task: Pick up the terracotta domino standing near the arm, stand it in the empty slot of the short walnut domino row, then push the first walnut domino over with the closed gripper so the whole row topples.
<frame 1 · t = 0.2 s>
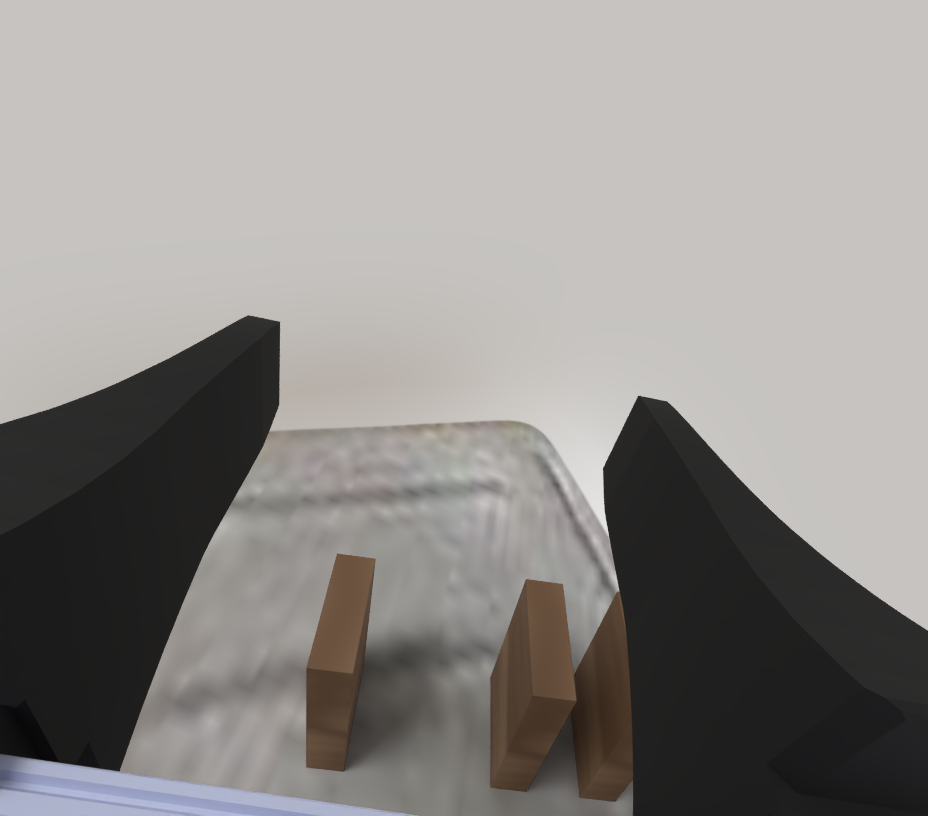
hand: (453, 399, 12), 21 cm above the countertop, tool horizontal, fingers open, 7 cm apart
domino 1: (589, 740, 28), on the countertop
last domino: (337, 710, 27), on the countertop
domino 2: (507, 730, 28), on the countertop
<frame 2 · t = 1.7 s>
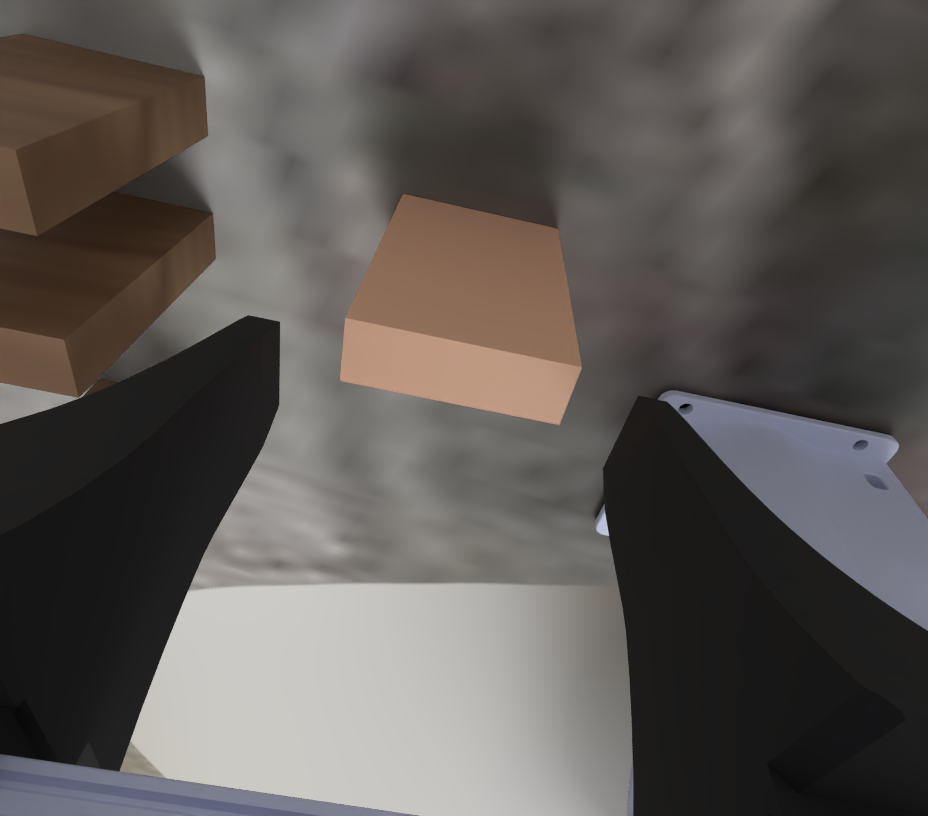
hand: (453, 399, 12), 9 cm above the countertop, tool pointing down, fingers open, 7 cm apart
domino 1: (118, 86, 17), on the countertop
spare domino: (475, 235, 19), on the countertop
domino 2: (138, 220, 19), on the countertop
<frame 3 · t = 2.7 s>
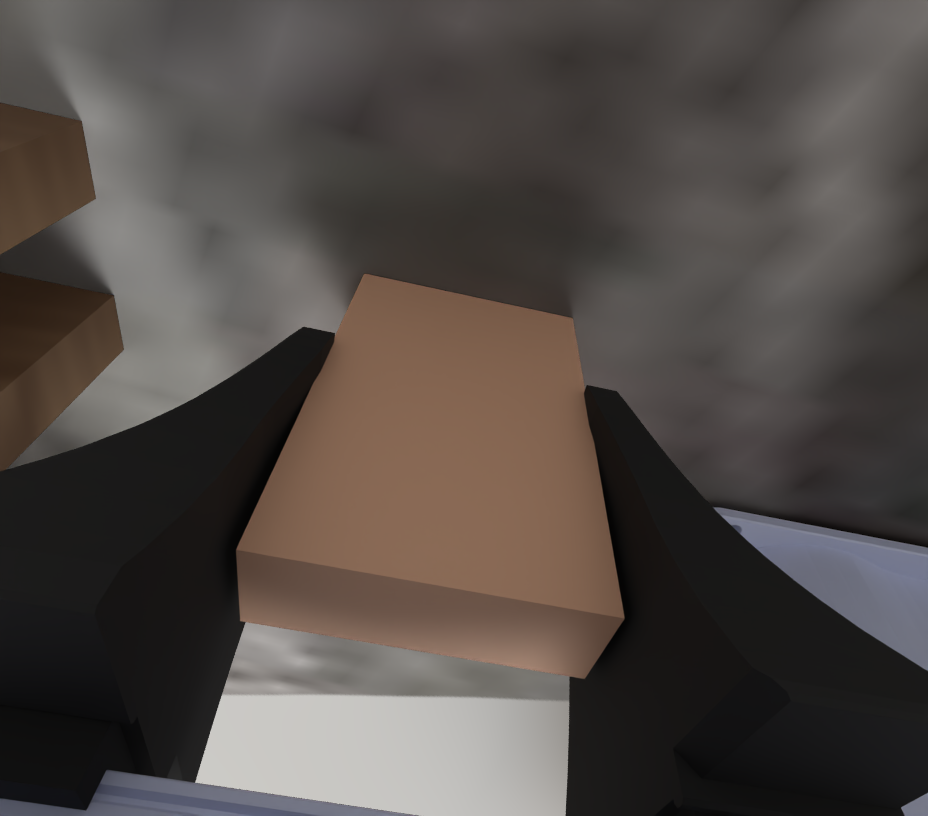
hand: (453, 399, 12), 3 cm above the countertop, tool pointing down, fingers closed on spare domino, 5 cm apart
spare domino: (463, 325, 14), on the countertop, touching gripper
domino 2: (16, 302, 15), on the countertop
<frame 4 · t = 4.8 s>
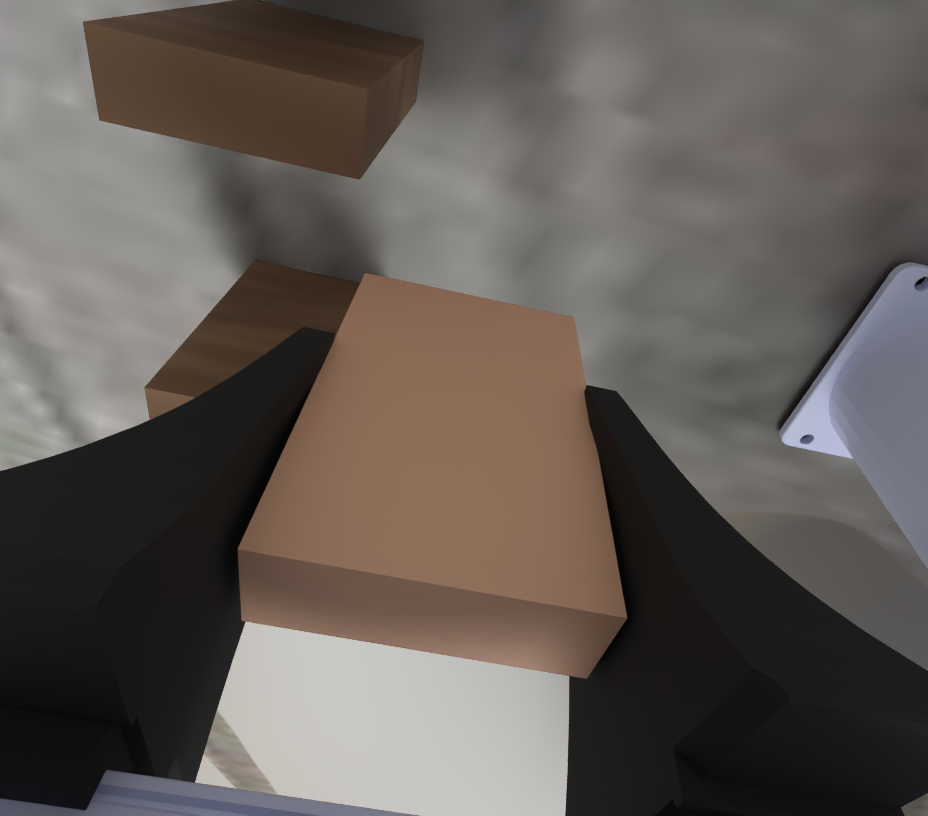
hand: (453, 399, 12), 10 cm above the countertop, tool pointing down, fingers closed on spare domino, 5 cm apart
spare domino: (464, 324, 14), point 7 cm above the countertop, touching gripper
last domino: (321, 294, 22), on the countertop
domino 2: (335, 52, 17), on the countertop
when the fingers open (4 cm above the countertop, at t = 7.1 s): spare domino drops 1 cm, on the countertop.
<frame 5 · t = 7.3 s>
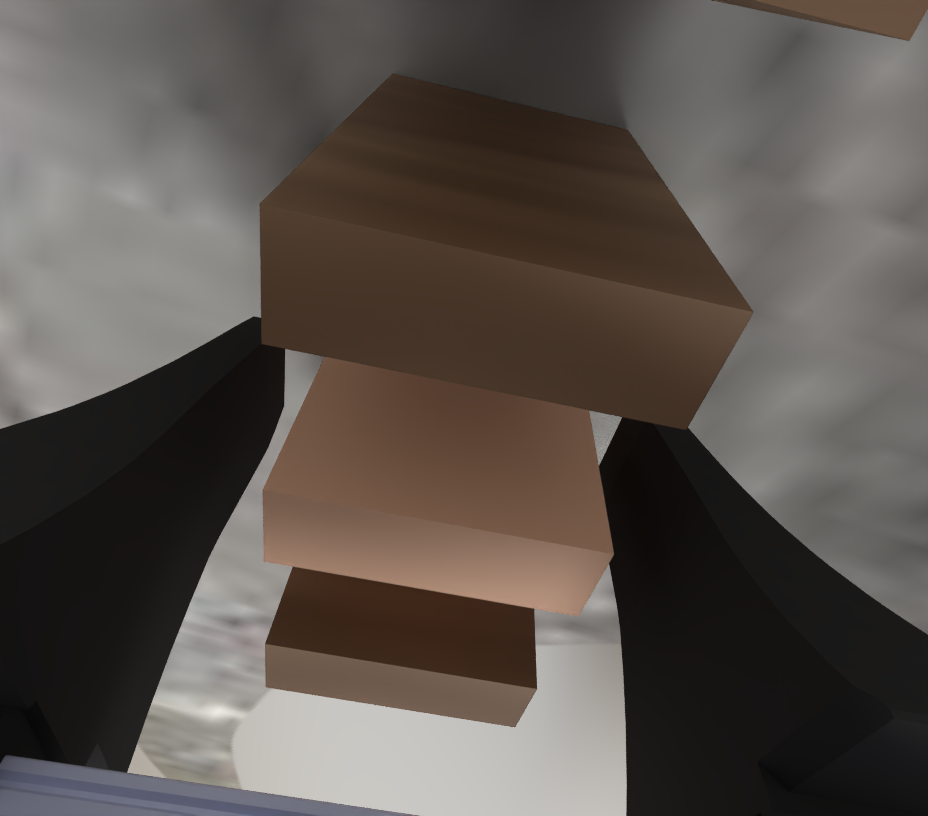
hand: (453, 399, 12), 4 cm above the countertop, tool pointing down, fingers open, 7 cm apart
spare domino: (465, 304, 15), on the countertop
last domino: (438, 423, 17), on the countertop
domino 2: (502, 142, 13), on the countertop
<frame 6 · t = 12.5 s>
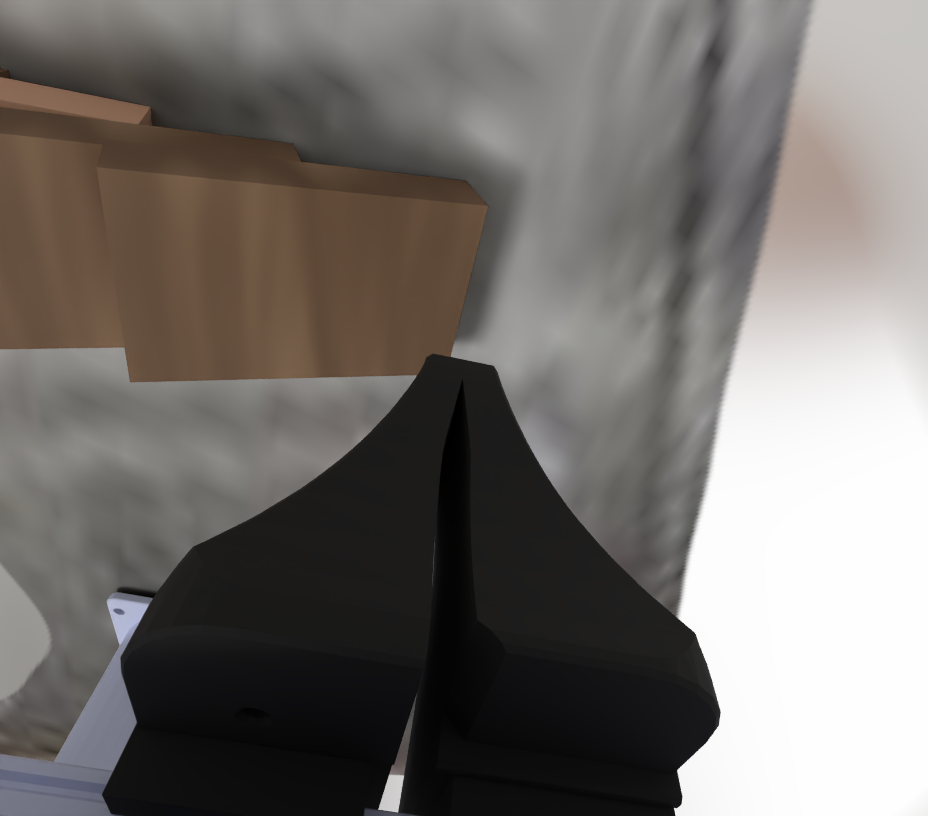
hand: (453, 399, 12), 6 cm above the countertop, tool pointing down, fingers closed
domino 1: (455, 283, 16), point 1 cm above the countertop, tilted 67°
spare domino: (151, 216, 15), point 1 cm above the countertop, tilted 74°, touching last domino
domino 2: (292, 250, 16), point 1 cm above the countertop, tilted 65°
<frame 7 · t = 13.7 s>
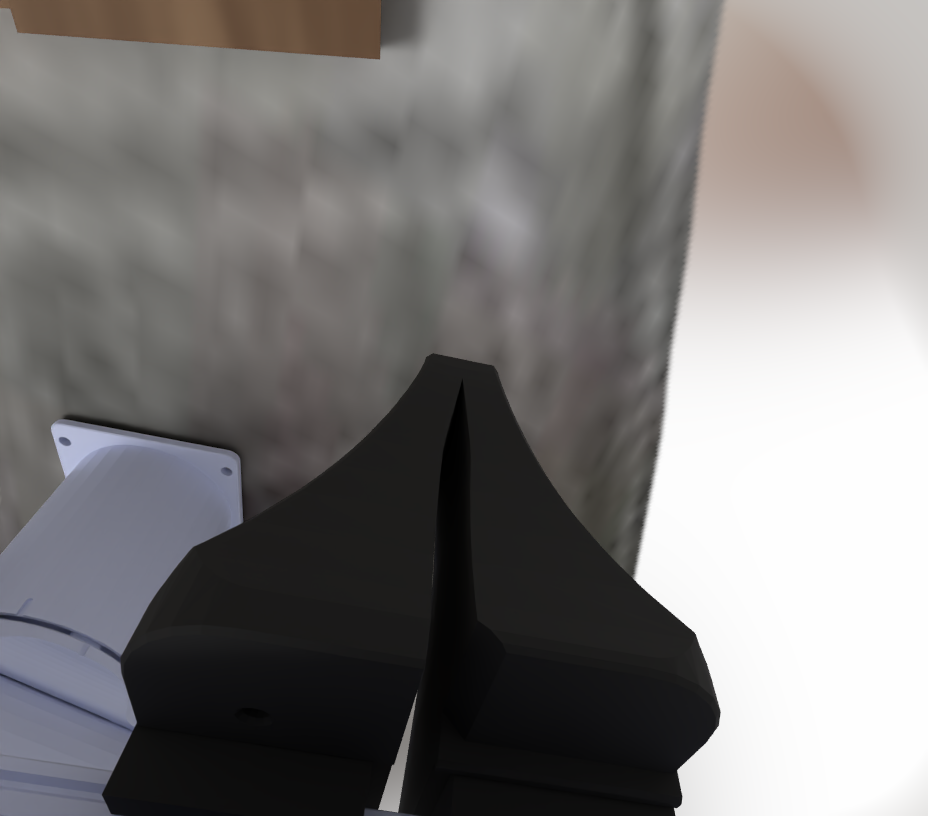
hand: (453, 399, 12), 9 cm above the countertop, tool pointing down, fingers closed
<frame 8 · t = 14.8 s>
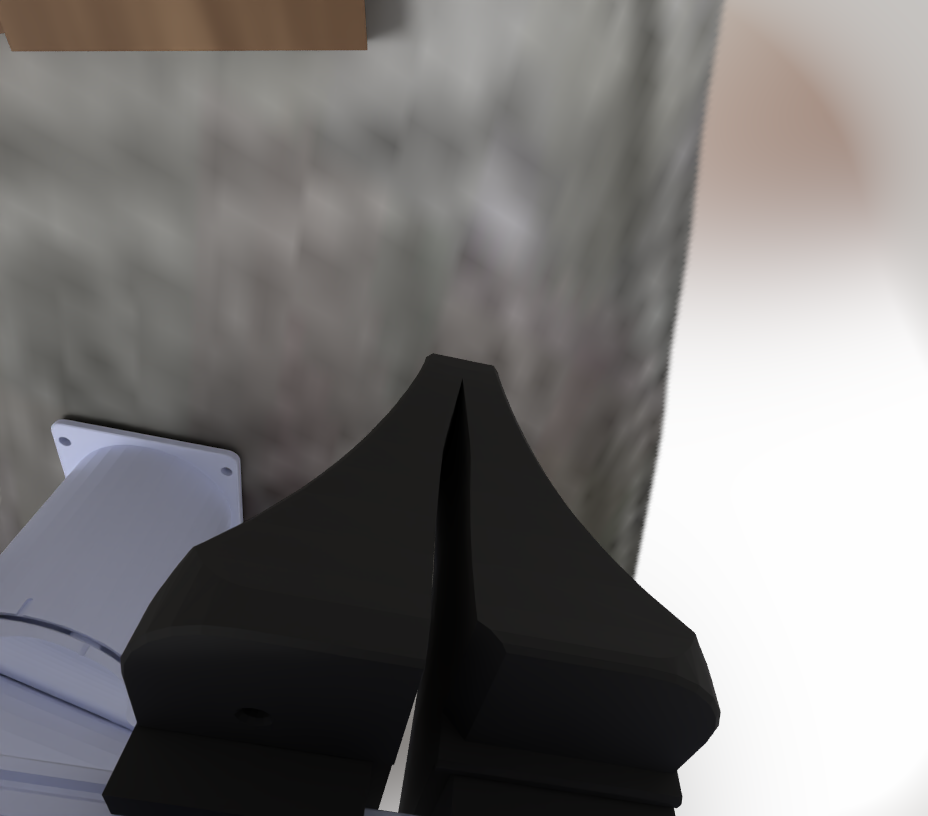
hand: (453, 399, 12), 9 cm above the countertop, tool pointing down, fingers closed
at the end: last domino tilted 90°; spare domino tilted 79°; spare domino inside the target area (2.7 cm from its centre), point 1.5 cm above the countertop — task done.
